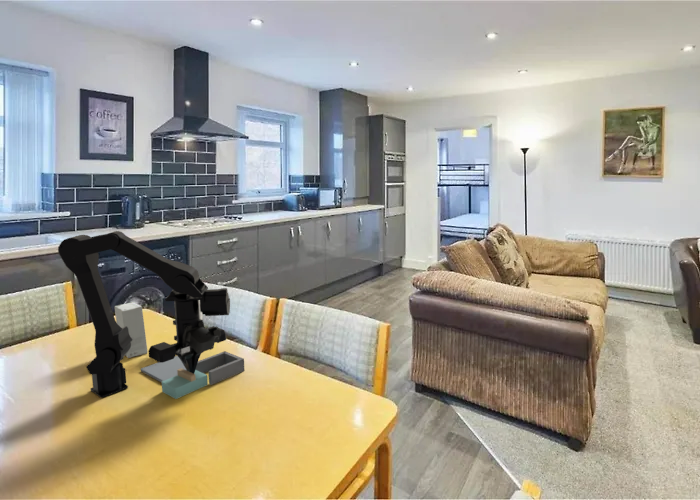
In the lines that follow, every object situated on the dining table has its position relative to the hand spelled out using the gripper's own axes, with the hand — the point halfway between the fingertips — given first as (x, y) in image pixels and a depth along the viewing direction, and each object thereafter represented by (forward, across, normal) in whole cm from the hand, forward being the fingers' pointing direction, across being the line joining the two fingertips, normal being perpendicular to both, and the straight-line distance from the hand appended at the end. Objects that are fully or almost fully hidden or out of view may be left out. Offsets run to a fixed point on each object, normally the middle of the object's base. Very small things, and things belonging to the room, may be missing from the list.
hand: (191, 374), depth 110 cm
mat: (+3, +2, +12) cm, 12 cm away
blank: (+3, -2, 0) cm, 4 cm away
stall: (+3, +8, 0) cm, 8 cm away
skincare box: (+3, +1, +33) cm, 33 cm away
